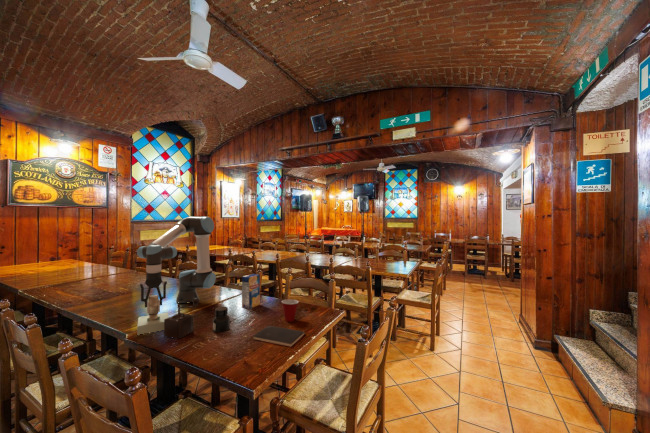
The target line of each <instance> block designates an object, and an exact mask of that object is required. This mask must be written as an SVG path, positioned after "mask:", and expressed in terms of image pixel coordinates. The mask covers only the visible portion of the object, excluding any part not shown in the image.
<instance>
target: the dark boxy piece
mask: <svg viewBox="0 0 650 433" xmlns="http://www.w3.org/2000/svg"><path fill="white" fill-rule="evenodd" d="M200 300H201V299H200V298H199V297H198V298H194V299H193V300H192V301H193V303H192V305H189V306H187V305H185V306H181V304H178V303H177V313H175V314H174V315H172V316H168V317H169V318H167V319H164V331H163V336H164V337H165V336H167V337H166V338H169V337H173V338H172V339H174V338H180V339H181V337H182V338H183V336H184V337H186V336H188V335H190V334H192V333H193V332H194V315H192V314H187V313H183V312H181V309H187V308H195V307H199V305H198V304H199V303H200ZM192 331H193V332H192ZM189 333H190V334H189ZM187 334H188V335H187ZM185 335H186V336H185Z"/></svg>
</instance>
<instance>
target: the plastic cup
mask: <svg viewBox="0 0 650 433" xmlns="http://www.w3.org/2000/svg"><path fill="white" fill-rule="evenodd" d="M299 303H300V302H299V300H297V299H291V298H290V299H283V300H281V304H282V308H283V315H284V319H285V322H294V321H295V319H296V314H297V308H298V304H299Z"/></svg>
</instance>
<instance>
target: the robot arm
mask: <svg viewBox="0 0 650 433" xmlns="http://www.w3.org/2000/svg"><path fill="white" fill-rule="evenodd" d="M214 229H215V223H214V221H213V218H212V217H210V216H187V217H185V218H183V219H181V220H179V221H177V222H176V223H174V224H173V226H172V227H171V228H170V229H168V230H167V231H165V233H163V234H161V235H160V236H159V237H157V238H156V239H154V241H152V242H150V243H149V244H147V245H143V246H140V247H138V249H137V250H136V254H137V257H138V258H140V259H144V260H145V259H146V264H145V267H146V268H145V272H146V274H145V281H144V282H143V283H140V284H139V288H140V301H141V302H144V308H146V314H147V315H148V313H149V296H150V293H151V290H152V289H156V291H157V295H158V312H159V313H160V312H161V306H163V300H164V299H166V298H167V292H166V291H167V284H168V281H167V280H163V279H162V266H163V265H162V261H164V260H169V259H170V260H171V259H174V258H175V257H177V254H178V250H177V248H176V246H170V244H171V243H172V242H174V241H176V240H177V239H178V238H179V237H180V236H181V235H182V236H183V235H185V234H187V233H193V236H195V238H196V240H195V241H196V263H197V266H196V269H187V270H184V271H180V272H179V273H178V274H179V275H178V293H177V296H176V300H175V303H176V302H179V303H187V302H193V301H192V300H193V299H194V298H199V294H198V292H197V289H211V288H212V287H213V286H214V284H215V283H216V280H217V277H216V273H215V272H213V268H211V265H210V264H211V263H210V262H211V260H210V258H211V257H210V236H211V235H212V232H213V231H214ZM161 285H163V286H162V288H163V290H162V292H163V294H162V292H161V290H160V286H161ZM146 286H147V287H148V288H147V291H146V295H145V287H146ZM144 296H145V297H144Z"/></svg>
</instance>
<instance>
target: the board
mask: <svg viewBox="0 0 650 433" xmlns="http://www.w3.org/2000/svg"><path fill="white" fill-rule="evenodd" d="M169 317H170V316H169V312H163V313H158V314H157V320H155V321H149V315H143V316H139V317H138V319H137V327H136V330H137V331H136V334H137V335H138V336H140V335H139V334H143V335H145V334H144V333H149V332H154V333H157V332H156V331H159V332H162V331H161V330H164V319H167V318H169ZM149 334H150V333H149ZM137 335H136V336H137Z"/></svg>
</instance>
